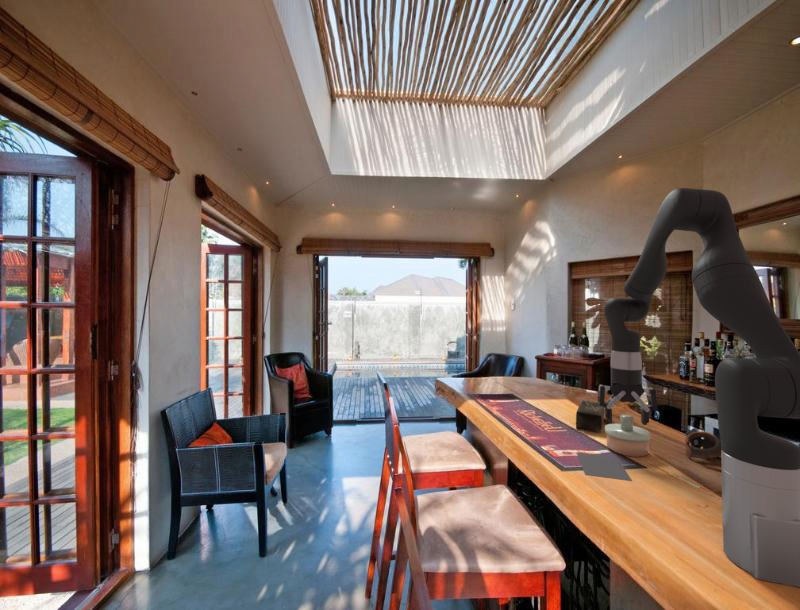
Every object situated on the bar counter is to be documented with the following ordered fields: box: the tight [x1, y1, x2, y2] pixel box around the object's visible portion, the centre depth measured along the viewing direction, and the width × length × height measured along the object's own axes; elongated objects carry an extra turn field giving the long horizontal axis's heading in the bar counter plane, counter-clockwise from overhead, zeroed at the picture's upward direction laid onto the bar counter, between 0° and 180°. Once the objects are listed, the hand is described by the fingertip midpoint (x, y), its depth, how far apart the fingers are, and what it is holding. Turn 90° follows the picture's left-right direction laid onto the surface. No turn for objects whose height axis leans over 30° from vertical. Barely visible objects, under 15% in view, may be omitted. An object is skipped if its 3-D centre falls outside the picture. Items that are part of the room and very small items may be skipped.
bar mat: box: [576, 451, 633, 482], centre depth 90 cm, size 14×10×1 cm
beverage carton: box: [575, 399, 605, 434], centre depth 124 cm, size 8×19×7 cm, turn 147°
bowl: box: [606, 433, 649, 458], centre depth 99 cm, size 10×10×5 cm
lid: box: [604, 414, 651, 442], centre depth 99 cm, size 11×11×5 cm
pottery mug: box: [684, 429, 722, 460], centre depth 96 cm, size 12×10×8 cm
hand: (626, 422), depth 99 cm, fingers open, 8 cm apart
